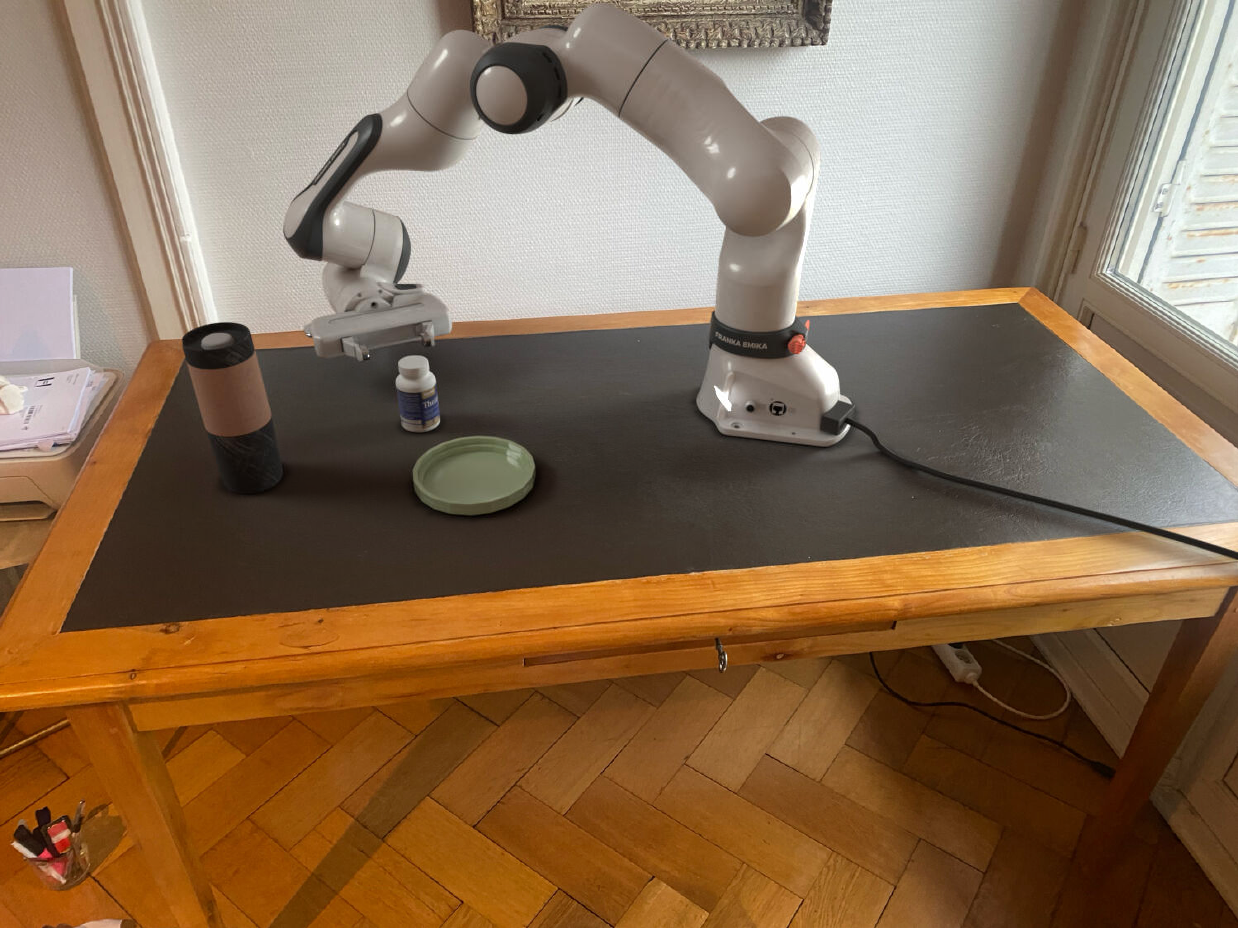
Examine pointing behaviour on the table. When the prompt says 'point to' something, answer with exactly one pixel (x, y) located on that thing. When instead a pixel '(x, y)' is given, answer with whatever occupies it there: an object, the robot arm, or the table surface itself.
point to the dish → (474, 475)
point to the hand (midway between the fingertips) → (397, 349)
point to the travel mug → (234, 405)
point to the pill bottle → (417, 395)
